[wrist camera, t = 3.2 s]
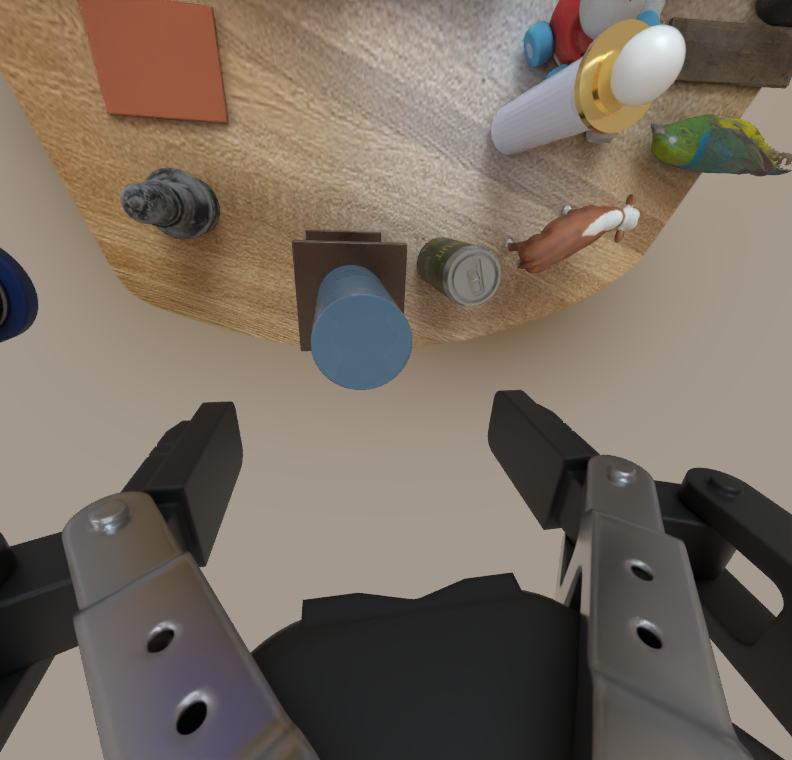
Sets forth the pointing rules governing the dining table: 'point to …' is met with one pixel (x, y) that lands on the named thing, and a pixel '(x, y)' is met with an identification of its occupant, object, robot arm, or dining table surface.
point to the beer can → (459, 270)
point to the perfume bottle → (595, 88)
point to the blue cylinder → (358, 330)
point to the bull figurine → (572, 234)
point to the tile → (156, 59)
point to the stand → (339, 250)
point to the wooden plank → (735, 53)
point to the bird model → (717, 146)
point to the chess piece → (172, 203)
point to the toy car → (579, 29)
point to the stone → (775, 12)
